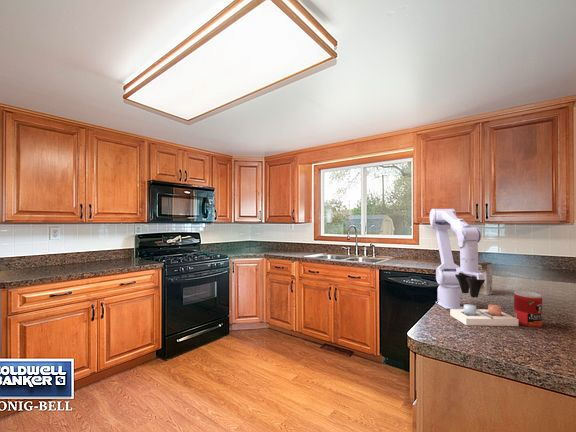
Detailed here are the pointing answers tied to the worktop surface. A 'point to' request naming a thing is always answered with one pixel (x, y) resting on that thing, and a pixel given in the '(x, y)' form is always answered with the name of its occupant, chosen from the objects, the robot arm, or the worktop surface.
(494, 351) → the worktop surface
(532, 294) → the canned food
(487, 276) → the coffee box
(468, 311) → the pale blue rounded piece
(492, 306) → the orange rounded piece
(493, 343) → the worktop surface
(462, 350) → the worktop surface
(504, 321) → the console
